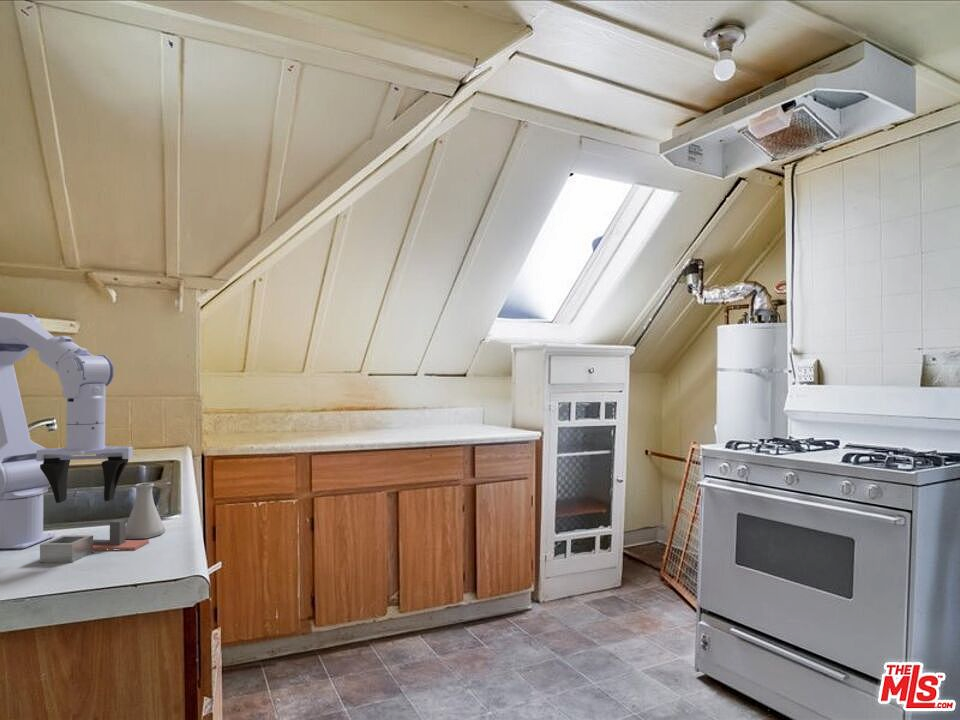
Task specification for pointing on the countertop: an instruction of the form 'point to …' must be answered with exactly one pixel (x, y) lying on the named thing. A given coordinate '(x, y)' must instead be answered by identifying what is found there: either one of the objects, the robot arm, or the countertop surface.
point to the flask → (144, 515)
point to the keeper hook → (118, 538)
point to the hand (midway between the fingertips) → (85, 500)
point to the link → (66, 548)
